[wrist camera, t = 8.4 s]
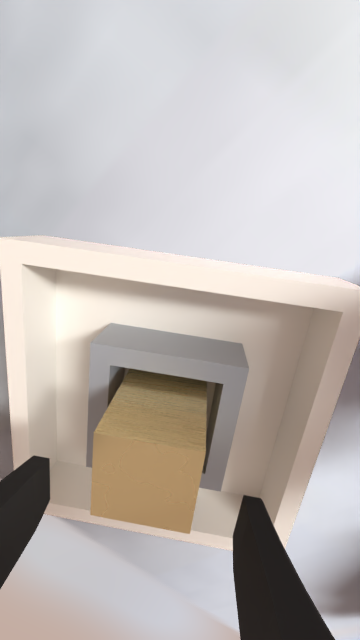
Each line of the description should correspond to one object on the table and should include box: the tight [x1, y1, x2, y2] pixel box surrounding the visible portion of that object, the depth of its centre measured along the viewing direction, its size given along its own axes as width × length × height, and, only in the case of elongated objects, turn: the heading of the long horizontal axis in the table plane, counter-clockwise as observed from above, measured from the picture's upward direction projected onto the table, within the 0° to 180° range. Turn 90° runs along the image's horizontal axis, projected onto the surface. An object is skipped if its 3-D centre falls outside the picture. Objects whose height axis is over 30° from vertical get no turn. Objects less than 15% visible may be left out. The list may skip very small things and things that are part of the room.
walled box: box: [0, 235, 360, 551], centre depth 16 cm, size 16×16×4 cm
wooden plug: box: [90, 368, 207, 534], centre depth 14 cm, size 4×4×7 cm
